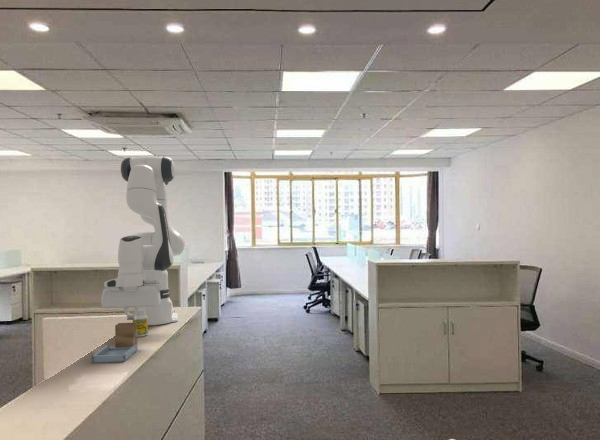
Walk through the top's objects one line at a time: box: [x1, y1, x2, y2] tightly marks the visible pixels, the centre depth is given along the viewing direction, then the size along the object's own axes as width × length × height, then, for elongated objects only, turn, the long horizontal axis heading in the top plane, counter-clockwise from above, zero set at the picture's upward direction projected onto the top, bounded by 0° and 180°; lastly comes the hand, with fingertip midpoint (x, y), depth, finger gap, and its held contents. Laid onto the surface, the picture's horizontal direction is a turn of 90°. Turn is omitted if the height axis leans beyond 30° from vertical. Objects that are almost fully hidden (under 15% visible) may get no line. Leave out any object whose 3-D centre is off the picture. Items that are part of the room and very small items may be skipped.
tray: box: [91, 343, 139, 364], centre depth 146 cm, size 13×10×2 cm
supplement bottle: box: [132, 309, 149, 338], centre depth 174 cm, size 5×5×10 cm
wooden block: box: [114, 322, 138, 348], centre depth 157 cm, size 4×6×8 cm, turn 94°
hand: (131, 319), depth 163 cm, fingers closed
